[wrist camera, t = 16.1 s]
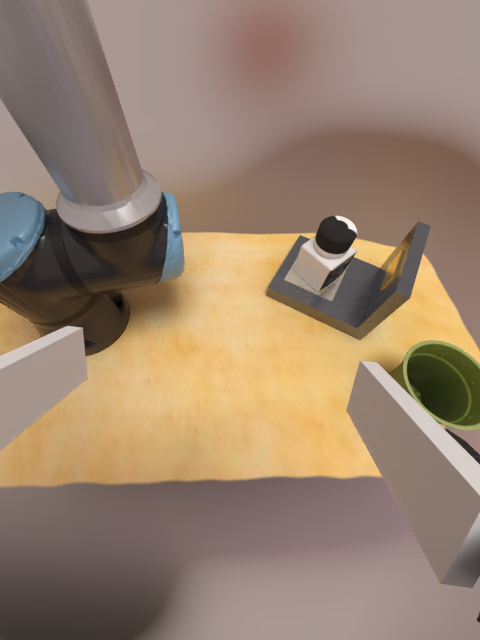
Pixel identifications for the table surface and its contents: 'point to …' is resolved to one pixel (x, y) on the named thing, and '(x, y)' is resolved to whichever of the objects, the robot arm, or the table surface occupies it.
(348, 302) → the bookend
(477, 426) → the plant pot
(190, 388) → the table surface
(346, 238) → the medicine bottle
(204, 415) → the table surface
